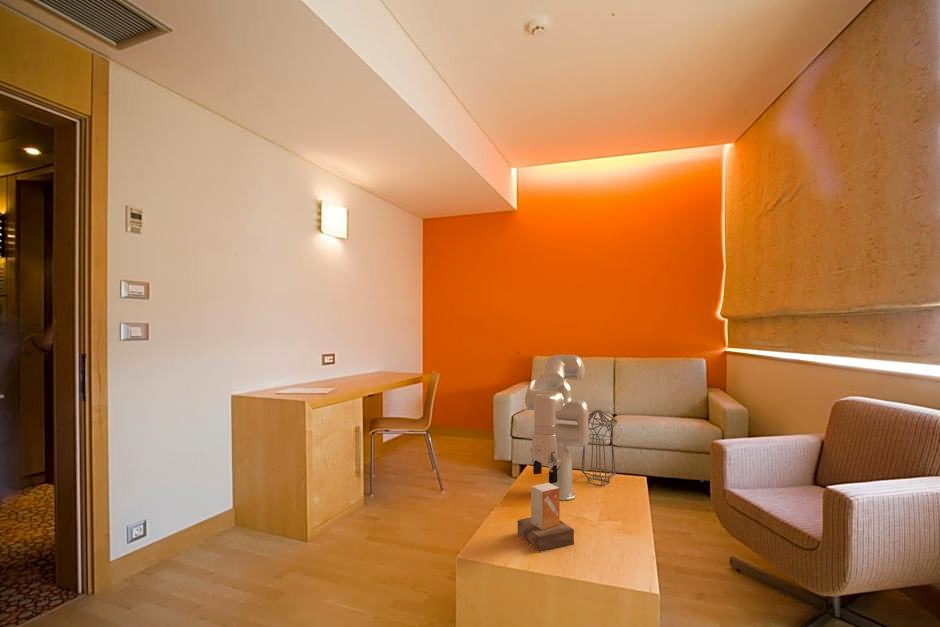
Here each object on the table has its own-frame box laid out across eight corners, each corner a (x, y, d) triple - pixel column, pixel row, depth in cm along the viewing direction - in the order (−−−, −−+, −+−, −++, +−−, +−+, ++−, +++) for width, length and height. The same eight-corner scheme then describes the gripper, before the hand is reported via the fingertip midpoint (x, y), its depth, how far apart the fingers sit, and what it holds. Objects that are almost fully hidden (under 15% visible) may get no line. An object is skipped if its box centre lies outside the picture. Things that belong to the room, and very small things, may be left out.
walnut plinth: (517, 534, 154) (517, 520, 155) (550, 527, 160) (550, 513, 160) (539, 552, 141) (539, 536, 142) (573, 544, 147) (573, 529, 147)
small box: (542, 530, 146) (542, 491, 147) (530, 523, 152) (530, 486, 152) (560, 525, 150) (560, 487, 151) (548, 518, 156) (548, 482, 156)
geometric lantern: (576, 482, 210) (575, 409, 213) (592, 475, 221) (591, 406, 224) (606, 490, 199) (605, 413, 202) (621, 482, 210) (620, 409, 213)
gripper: (523, 425, 159) (523, 472, 159) (549, 436, 143) (550, 488, 143) (540, 423, 162) (540, 469, 162) (568, 433, 146) (568, 484, 146)
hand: (545, 478), depth 152 cm, fingers open, 9 cm apart
